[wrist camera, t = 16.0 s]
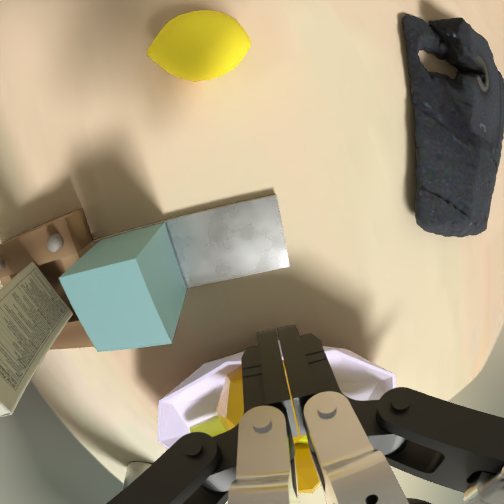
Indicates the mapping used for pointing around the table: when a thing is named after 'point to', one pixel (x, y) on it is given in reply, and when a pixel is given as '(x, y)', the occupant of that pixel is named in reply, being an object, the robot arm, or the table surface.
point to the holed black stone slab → (454, 126)
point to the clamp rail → (226, 241)
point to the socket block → (51, 263)
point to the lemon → (200, 45)
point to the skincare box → (26, 331)
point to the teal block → (128, 290)
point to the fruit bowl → (232, 406)
